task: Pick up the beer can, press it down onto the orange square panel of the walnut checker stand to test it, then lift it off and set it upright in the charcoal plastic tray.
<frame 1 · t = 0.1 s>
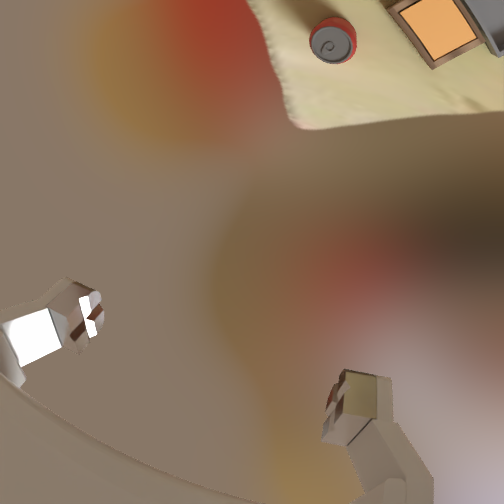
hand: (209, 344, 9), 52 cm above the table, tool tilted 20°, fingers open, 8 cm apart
checker stand: (433, 21, 33), on the table
tray: (498, 9, 25), on the table
orange square panel: (438, 23, 31), point 4 cm above the table, slide at 0.5 cm
beer can: (336, 34, 41), on the table
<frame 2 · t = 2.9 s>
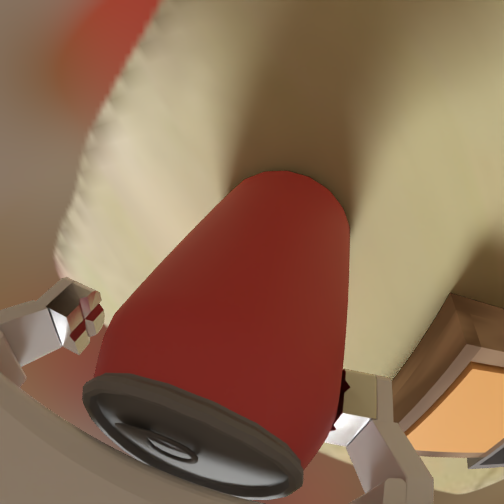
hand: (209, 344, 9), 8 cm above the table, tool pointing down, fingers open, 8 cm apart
checker stand: (472, 373, 17), on the table
orange square panel: (480, 413, 14), point 4 cm above the table, slide at 0.5 cm
beer can: (285, 228, 16), on the table
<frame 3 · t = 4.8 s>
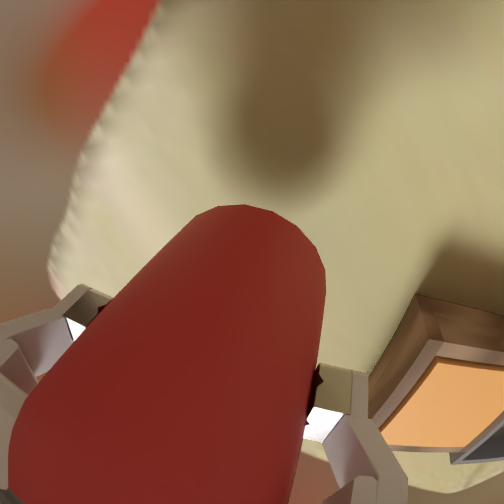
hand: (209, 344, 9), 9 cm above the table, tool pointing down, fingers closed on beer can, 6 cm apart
checker stand: (445, 370, 19), on the table
orange square panel: (454, 407, 16), point 4 cm above the table, slide at 0.5 cm
beer can: (250, 269, 14), point 4 cm above the table, touching gripper
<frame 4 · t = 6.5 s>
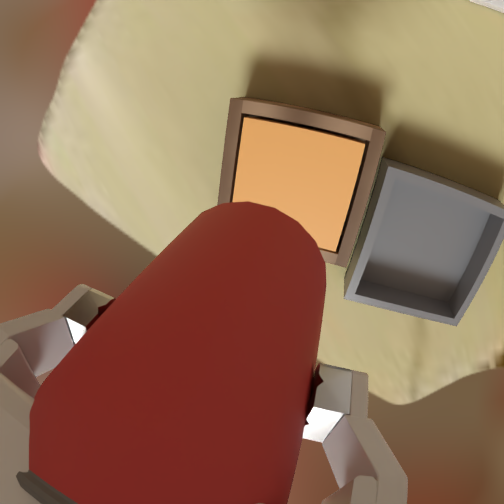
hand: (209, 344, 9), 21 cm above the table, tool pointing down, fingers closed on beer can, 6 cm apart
checker stand: (299, 172, 27), on the table
tray: (423, 239, 27), on the table
orange square panel: (293, 184, 24), point 4 cm above the table, slide at 0.5 cm
beer can: (253, 264, 14), point 15 cm above the table, touching gripper
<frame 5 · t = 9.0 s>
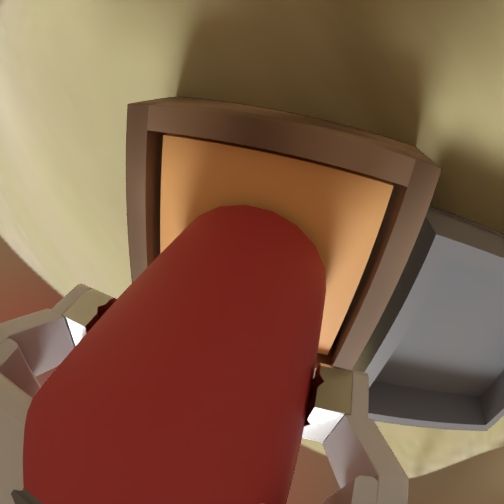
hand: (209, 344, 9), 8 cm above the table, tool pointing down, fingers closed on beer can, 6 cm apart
checker stand: (271, 226, 16), on the table
tray: (463, 326, 16), on the table
orange square panel: (258, 251, 14), point 3 cm above the table, slide at 1.5 cm, touching beer can
beer can: (252, 268, 14), point 3 cm above the table, touching orange square panel, gripper
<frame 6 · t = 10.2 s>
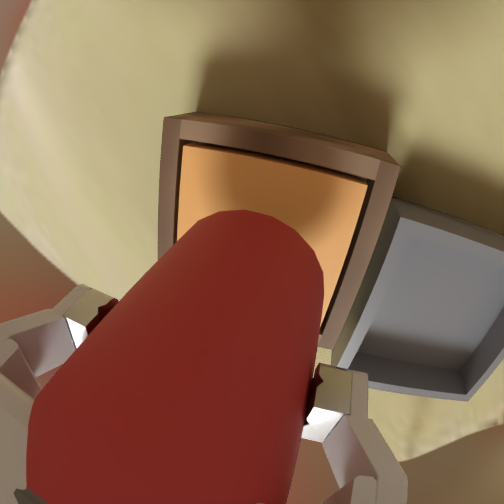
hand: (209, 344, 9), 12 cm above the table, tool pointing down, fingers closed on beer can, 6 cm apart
checker stand: (271, 217, 20), on the table
tray: (437, 302, 20), on the table
orange square panel: (259, 241, 17), point 4 cm above the table, slide at 0.6 cm
beer can: (251, 272, 14), point 7 cm above the table, touching gripper
when the fingers open (7 cm above the table, at t = 15.1 s): beer can stays where it is, resting on tray.
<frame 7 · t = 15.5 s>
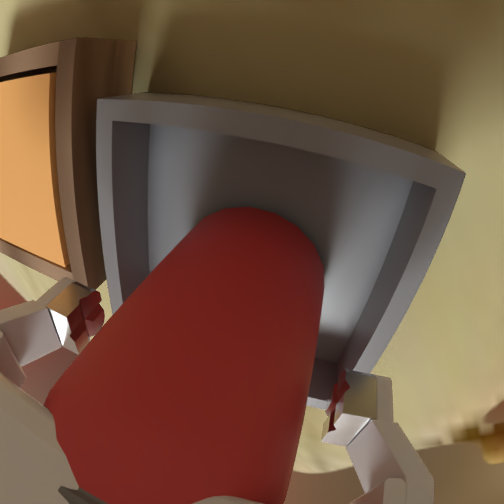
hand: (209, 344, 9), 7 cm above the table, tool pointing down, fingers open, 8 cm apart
checker stand: (54, 147, 15), on the table
tray: (260, 244, 15), on the table
orange square panel: (9, 165, 12), point 4 cm above the table, slide at 0.6 cm
beer can: (254, 266, 15), point 1 cm above the table, touching tray
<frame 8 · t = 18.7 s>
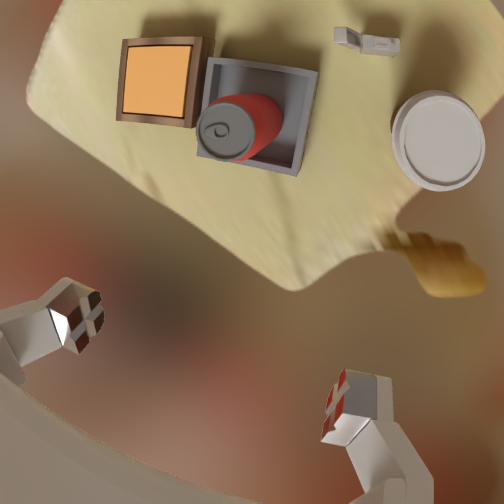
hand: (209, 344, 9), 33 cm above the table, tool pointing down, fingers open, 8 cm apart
checker stand: (169, 79, 37), on the table
tray: (259, 112, 37), on the table
orange square panel: (156, 80, 34), point 4 cm above the table, slide at 0.6 cm
lighter: (364, 47, 29), on the table
beer can: (257, 119, 37), point 1 cm above the table, touching tray
disposable coffee cup: (414, 127, 32), on the table
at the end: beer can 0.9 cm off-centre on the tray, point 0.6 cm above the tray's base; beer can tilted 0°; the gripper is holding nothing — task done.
